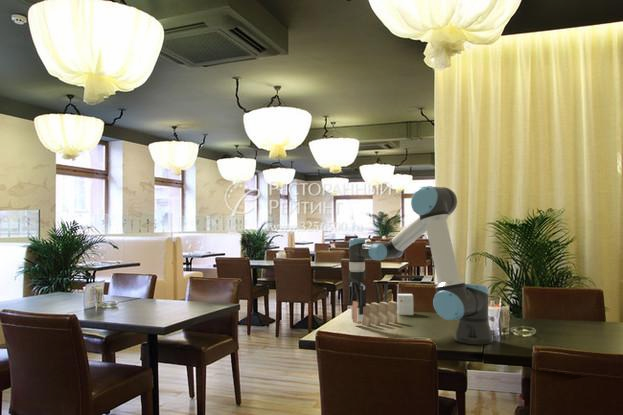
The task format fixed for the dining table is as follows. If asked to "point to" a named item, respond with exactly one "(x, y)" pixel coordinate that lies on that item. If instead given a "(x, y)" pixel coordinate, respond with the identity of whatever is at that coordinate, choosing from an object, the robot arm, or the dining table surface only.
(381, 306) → the domino
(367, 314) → the domino
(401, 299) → the small box
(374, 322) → the domino
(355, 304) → the domino
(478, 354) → the dining table surface
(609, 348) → the dining table surface
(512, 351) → the dining table surface
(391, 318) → the domino
